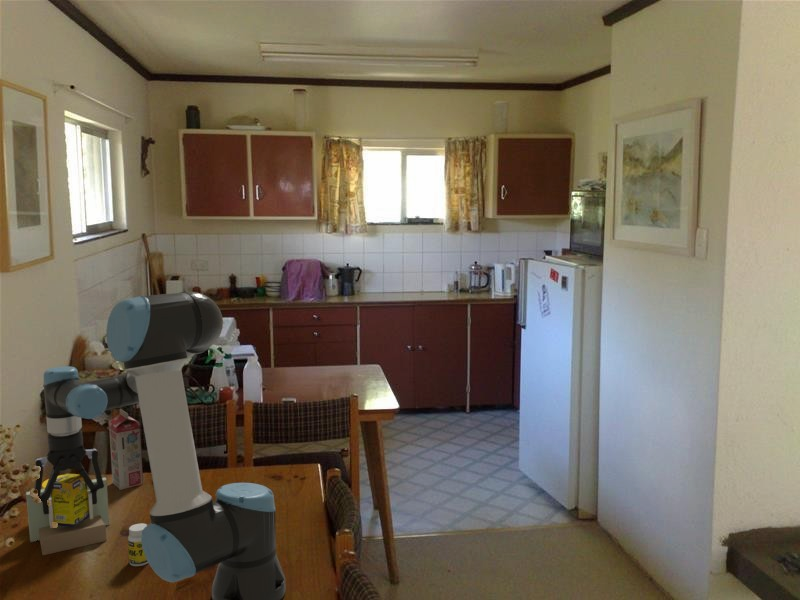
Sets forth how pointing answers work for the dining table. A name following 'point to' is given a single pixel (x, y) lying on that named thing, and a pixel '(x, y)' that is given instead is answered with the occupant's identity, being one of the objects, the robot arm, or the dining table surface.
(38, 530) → the letter holder
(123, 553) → the dining table surface
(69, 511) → the supplement box
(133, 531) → the supplement bottle
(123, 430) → the juice carton
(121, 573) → the dining table surface
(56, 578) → the dining table surface
